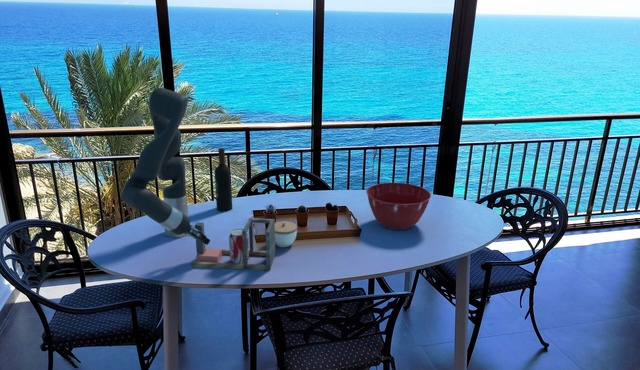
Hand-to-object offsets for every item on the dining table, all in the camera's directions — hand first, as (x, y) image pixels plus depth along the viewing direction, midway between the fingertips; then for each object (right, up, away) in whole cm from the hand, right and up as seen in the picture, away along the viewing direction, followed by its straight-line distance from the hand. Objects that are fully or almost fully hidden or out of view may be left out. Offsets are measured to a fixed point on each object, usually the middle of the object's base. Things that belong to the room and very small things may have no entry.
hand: (204, 240), depth 168 cm
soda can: (+13, -8, 0) cm, 15 cm away
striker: (+1, -7, +1) cm, 7 cm away
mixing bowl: (+78, +3, +36) cm, 86 cm away
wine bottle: (-3, +9, +50) cm, 51 cm away
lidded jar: (+28, -3, +15) cm, 32 cm away
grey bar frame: (+12, -8, 0) cm, 14 cm away
